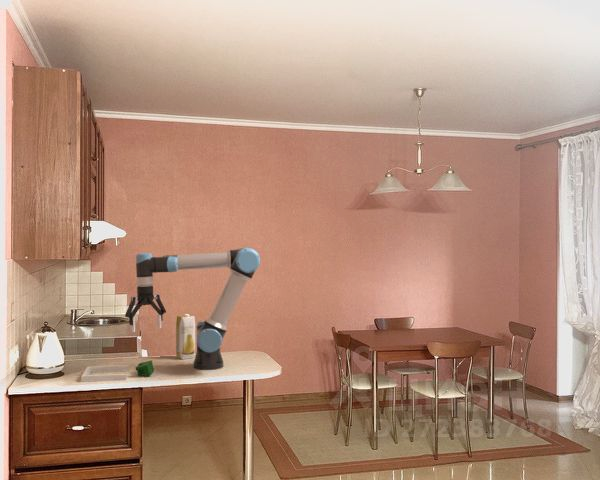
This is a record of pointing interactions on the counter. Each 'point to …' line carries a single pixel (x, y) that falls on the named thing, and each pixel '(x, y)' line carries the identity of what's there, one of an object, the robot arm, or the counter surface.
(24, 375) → the counter surface
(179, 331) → the juice carton
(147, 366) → the green lumpy piece
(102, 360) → the counter surface
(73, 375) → the counter surface
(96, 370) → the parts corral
